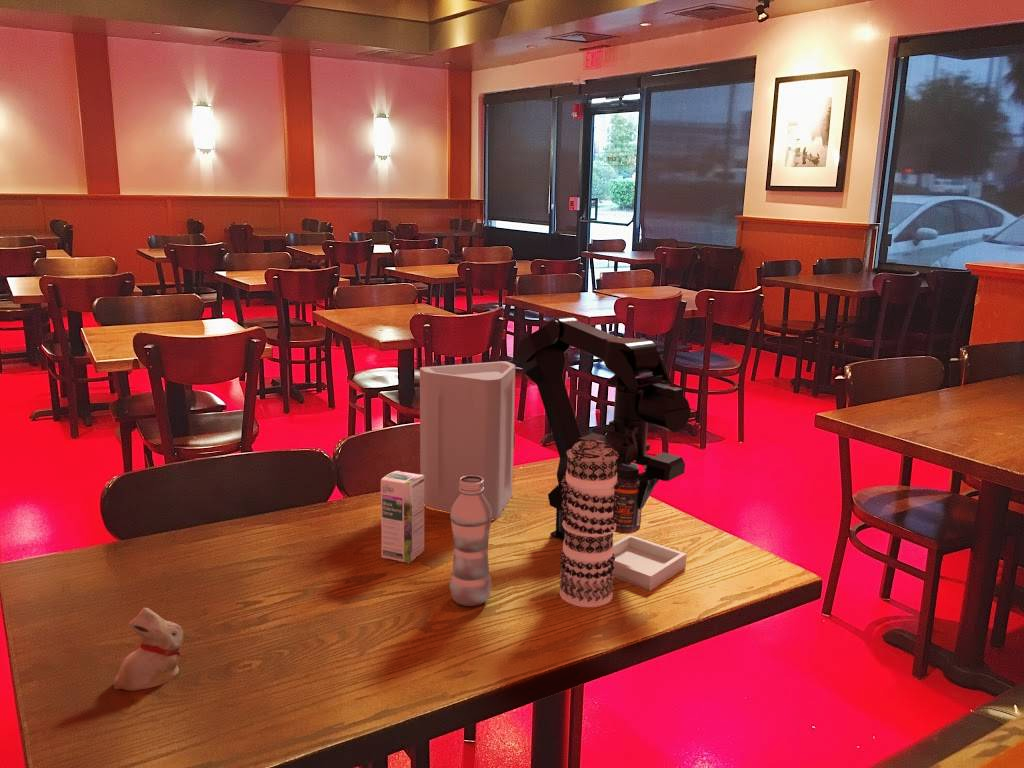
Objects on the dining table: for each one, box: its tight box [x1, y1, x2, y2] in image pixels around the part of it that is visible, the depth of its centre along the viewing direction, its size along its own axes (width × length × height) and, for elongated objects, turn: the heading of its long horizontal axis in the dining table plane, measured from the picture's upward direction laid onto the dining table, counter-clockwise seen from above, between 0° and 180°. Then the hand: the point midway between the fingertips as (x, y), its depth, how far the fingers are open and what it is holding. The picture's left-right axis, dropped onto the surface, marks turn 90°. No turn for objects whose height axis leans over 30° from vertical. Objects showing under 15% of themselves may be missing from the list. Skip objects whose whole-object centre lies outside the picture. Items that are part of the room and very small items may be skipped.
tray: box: [612, 534, 687, 591], centre depth 140 cm, size 12×12×2 cm
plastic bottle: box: [449, 475, 492, 607], centre depth 125 cm, size 6×7×20 cm
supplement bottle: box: [613, 463, 643, 535], centre depth 140 cm, size 6×6×11 cm
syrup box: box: [380, 470, 425, 564], centre depth 141 cm, size 6×6×14 cm
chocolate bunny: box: [113, 607, 184, 692], centre depth 105 cm, size 6×8×10 cm
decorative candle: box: [559, 440, 622, 608], centre depth 128 cm, size 9×9×25 cm
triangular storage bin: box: [419, 360, 516, 521], centre depth 162 cm, size 19×15×28 cm
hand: (624, 503), depth 140 cm, fingers closed on supplement bottle, 6 cm apart
